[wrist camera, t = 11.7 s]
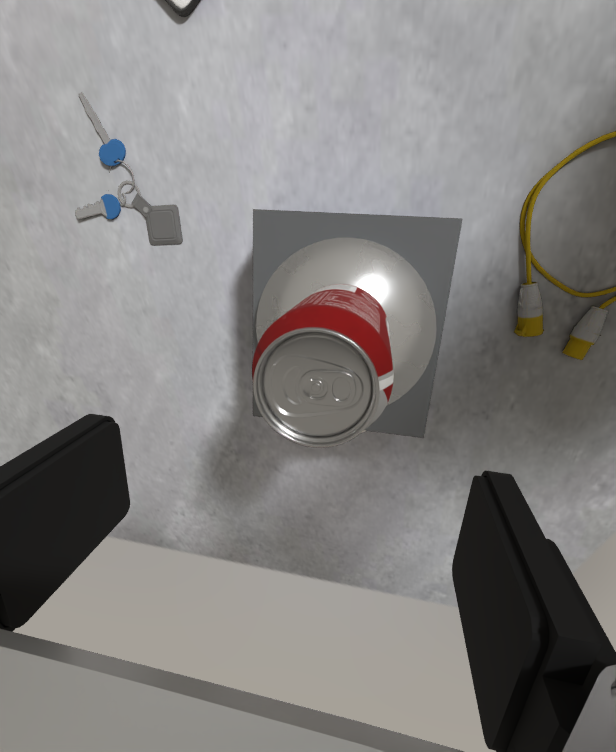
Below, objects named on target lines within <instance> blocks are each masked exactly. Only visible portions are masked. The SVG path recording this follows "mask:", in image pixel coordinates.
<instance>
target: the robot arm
mask: <svg viewBox="0 0 616 752" xmlns="http://www.w3.org/2000/svg"><path fill="white" fill-rule="evenodd" d="M129 507H130V498H129V491H128V484H127V477H126V470H125V463H124V456H123V449H122V442H121V435H120V428H119V425H118V424H117V423H115V421H114V419H113V418H112V417H110V416H103V415H96V414H88V415H86V416H84V417H82V418H81V419H79V420H77V421H76V422H74V423H72V424H71V425H69V426H67V427H66V428H64V429H62V430H61V431H59V432H57V433H56V434H54V435H52V436H51V437H49V438H47V439H46V440H44V441H42V442H41V443H39V444H37V445H36V446H34V447H32V448H31V449H29V450H27V451H26V452H24V453H22V454H21V455H19V456H17V457H16V458H14V459H12V460H11V461H9V462H7V463H6V464H4V465H2V466H0V752H463V751H460V750H457V749H454V748H450V747H446V746H443V745H439V744H436V743H432V742H429V741H425V740H422V739H418V738H415V737H411V736H408V735H404V734H401V733H397V732H394V731H390V730H387V729H383V728H380V727H376V726H372V725H369V724H366V723H362V722H359V721H355V720H351V719H347V718H344V717H339V716H336V715H332V714H328V713H325V712H321V711H317V710H313V709H309V708H306V707H301V706H298V705H294V704H290V703H287V702H283V701H279V700H275V699H271V698H268V697H264V696H260V695H256V694H252V693H249V692H245V691H241V690H237V689H234V688H230V687H226V686H222V685H218V684H214V683H211V682H207V681H203V680H199V679H195V678H191V677H187V676H184V675H180V674H175V673H172V672H168V671H164V670H160V669H156V668H152V667H149V666H145V665H141V664H137V663H133V662H129V661H125V660H121V659H117V658H114V657H109V656H106V655H102V654H98V653H94V652H90V651H86V650H82V649H78V648H74V647H71V646H67V645H62V644H59V643H55V642H51V641H47V640H43V639H39V638H35V637H31V636H27V635H23V634H19V633H14V632H13V630H15V628H18V627H21V626H22V625H24V624H25V623H26V622H27V621H28V620H29V619H30V618H31V617H32V616H33V615H34V613H35V612H36V611H37V610H38V609H39V608H40V607H41V606H42V605H43V604H44V603H45V602H46V600H48V598H49V597H50V596H51V595H52V594H53V593H54V592H55V591H56V590H57V589H58V588H59V587H60V586H61V584H62V583H63V582H64V581H65V580H66V579H67V578H68V577H69V576H70V575H71V574H72V573H73V572H74V571H75V569H76V568H77V567H78V566H79V565H80V564H81V563H82V562H83V561H84V560H85V559H86V558H87V557H88V556H89V554H90V553H91V552H92V551H93V550H94V549H95V548H96V547H97V546H98V545H99V544H100V542H102V540H103V539H104V538H105V537H106V536H107V535H108V534H109V533H110V532H111V531H112V530H113V529H114V528H115V527H116V525H117V524H118V523H119V522H120V521H121V520H122V519H123V518H124V517H125V516H126V514H127V512H128V510H129ZM452 576H453V582H454V587H455V592H456V597H457V602H458V607H459V612H460V618H461V622H462V628H463V633H464V638H465V643H466V648H467V653H468V658H469V663H470V668H471V674H472V679H473V684H474V689H475V694H476V699H477V704H478V709H479V714H480V720H481V724H482V729H483V735H484V739H485V743H486V745H487V747H488V748H489V749H492V750H496V752H616V652H615V650H614V649H613V646H612V645H611V643H610V641H609V639H608V637H607V636H606V634H605V632H604V630H603V628H602V627H601V625H600V623H599V621H598V619H597V618H596V616H595V614H594V612H593V610H592V608H591V607H590V605H589V603H588V601H587V599H586V598H585V596H584V594H583V592H582V590H581V589H580V587H579V585H578V583H577V581H576V580H575V578H574V576H573V574H572V572H571V570H570V569H569V567H568V565H567V563H566V561H565V560H564V558H563V556H562V554H561V552H560V551H559V549H558V547H557V546H556V544H555V543H554V542H553V541H551V540H550V539H546V538H545V536H544V534H543V532H542V530H541V529H540V527H539V525H538V523H537V521H536V519H535V517H534V515H533V513H532V512H531V510H530V508H529V506H528V504H527V502H526V500H525V498H524V496H523V495H522V493H521V491H520V489H519V487H518V485H517V483H516V481H515V479H514V478H513V476H512V475H510V474H505V473H498V472H491V471H484V472H483V474H482V476H474V478H473V481H472V485H471V489H470V493H469V497H468V501H467V505H466V510H465V514H464V518H463V522H462V526H461V530H460V534H459V538H458V543H457V547H456V551H455V555H454V559H453V565H452Z"/></svg>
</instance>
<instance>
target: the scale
mask: <svg viewBox="0 0 616 752" xmlns="http://www.w3.org/2000/svg"><path fill="white" fill-rule="evenodd" d="M461 224H462V219H458V218H436V217H413V216H391V215H369V214H346V213H324V212H302V211H279V210H257V209H253V357H254V353H255V350H256V347H257V345H258V340H257V332H256V319H257V311H258V306H259V301H260V299H261V296H262V293H263V290H264V288H265V286H266V284H267V282H268V281H269V279H270V278H271V276H272V275H273V273H274V272H275V271H276V270H277V268H278V267H279V266H280V265H281V264H282V263H283V262H284V261H285V260H286V259H288V258H289V257H290V256H291V255H293V254H294V253H296V252H297V251H299V250H300V249H302V248H304V247H306V246H308V245H311V244H313V243H316V242H319V241H323V240H326V239H333V238H359V239H365V240H369V241H373V242H376V243H378V244H381V245H383V246H385V247H388V248H389V249H391V250H393V251H394V252H396V253H398V254H399V255H400V256H401V257H403V258H404V259H405V260H406V261H407V262H409V263H410V264H411V266H412V267H413V268H414V269H415V270H416V271H417V272H418V274H419V275H420V277H421V278H422V280H423V281H424V282H425V284H426V287H427V289H428V291H429V293H430V295H431V298H432V301H433V304H434V309H435V314H436V339H435V345H434V349H433V353H432V356H431V358H430V361H429V363H428V365H427V367H426V369H425V371H424V372H423V374H422V376H421V377H420V378H419V380H418V381H417V382H416V384H415V385H414V386H413V387H412V388H411V389H410V390H409V391H408V392H407V393H405V394H404V395H403V396H402V397H400V398H399V399H397V400H396V401H394V402H392V403H391V404H389V405H387V406H386V407H385V409H384V411H383V412H382V414H381V415H380V416H379V417H378V419H377V420H376V421H375V422H374V423H373V424H371V425H370V426H369V427H368V428H366V429H365V430H363V431H362V432H361V433H363V432H366V431H373V432H381V433H389V434H396V435H404V436H412V437H419V438H424V433H425V427H426V421H427V416H428V410H429V404H430V399H431V393H432V388H433V382H434V376H435V371H436V365H437V359H438V354H439V348H440V343H441V337H442V331H443V326H444V320H445V314H446V309H447V303H448V297H449V292H450V286H451V281H452V275H453V269H454V264H455V258H456V252H457V247H458V241H459V235H460V230H461ZM253 416H258V417H263V416H262V414H261V413H260V411H259V409H258V406H257V404H256V400H255V397H254V390H253Z"/></svg>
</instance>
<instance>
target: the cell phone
mask: <svg viewBox="0 0 616 752" xmlns="http://www.w3.org/2000/svg"><path fill="white" fill-rule="evenodd" d="M199 1H200V0H166V2H167V3H168V4H169V5H170V6H171V7H172V8H173V10H174V11H175V12H176V13H178V14H179V15H180V16H182V17H186V16H188V15H189V14H190V13H191V12H192V11H193V10H194V9H195V7H196V6H197V4H198V3H199Z"/></svg>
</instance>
